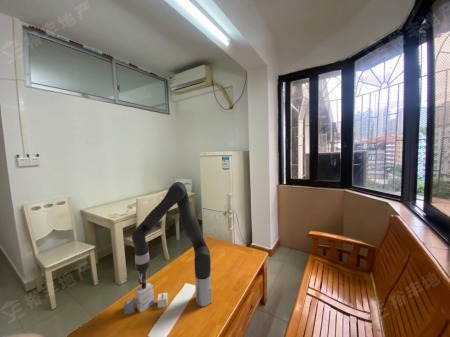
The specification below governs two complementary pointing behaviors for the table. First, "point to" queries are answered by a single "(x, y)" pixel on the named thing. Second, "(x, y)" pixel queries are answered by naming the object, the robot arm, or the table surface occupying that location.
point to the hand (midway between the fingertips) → (144, 287)
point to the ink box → (144, 297)
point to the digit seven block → (130, 306)
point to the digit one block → (162, 300)
